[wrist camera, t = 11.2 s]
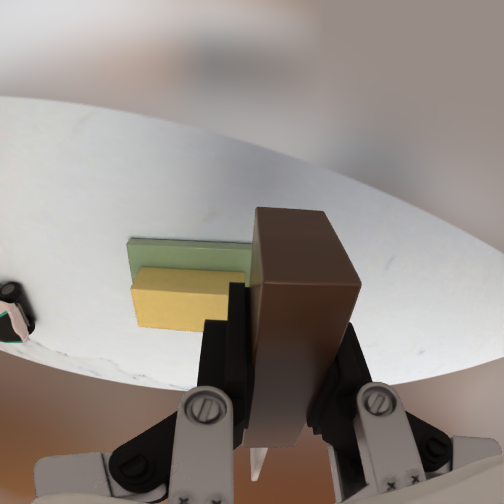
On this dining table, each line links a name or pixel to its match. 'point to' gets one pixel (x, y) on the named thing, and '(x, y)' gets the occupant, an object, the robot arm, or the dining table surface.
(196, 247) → the butter dish
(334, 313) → the knife
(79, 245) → the dining table surface
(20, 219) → the dining table surface
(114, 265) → the dining table surface
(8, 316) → the toy car
